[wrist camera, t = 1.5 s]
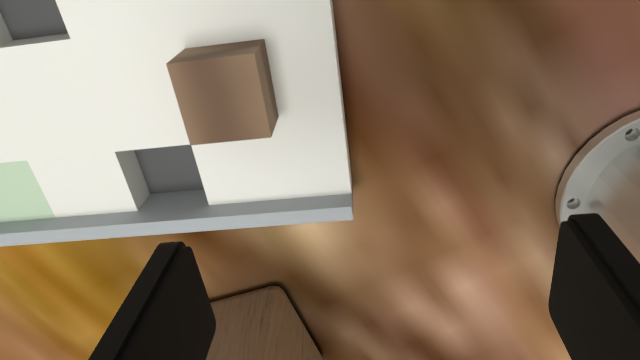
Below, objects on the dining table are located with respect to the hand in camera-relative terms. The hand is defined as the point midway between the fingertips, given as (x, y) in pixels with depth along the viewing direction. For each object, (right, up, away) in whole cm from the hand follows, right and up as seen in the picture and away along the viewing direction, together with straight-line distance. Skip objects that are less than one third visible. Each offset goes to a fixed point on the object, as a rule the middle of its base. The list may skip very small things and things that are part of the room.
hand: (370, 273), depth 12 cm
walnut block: (-6, +8, +14) cm, 18 cm away
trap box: (-14, +9, +17) cm, 24 cm away
